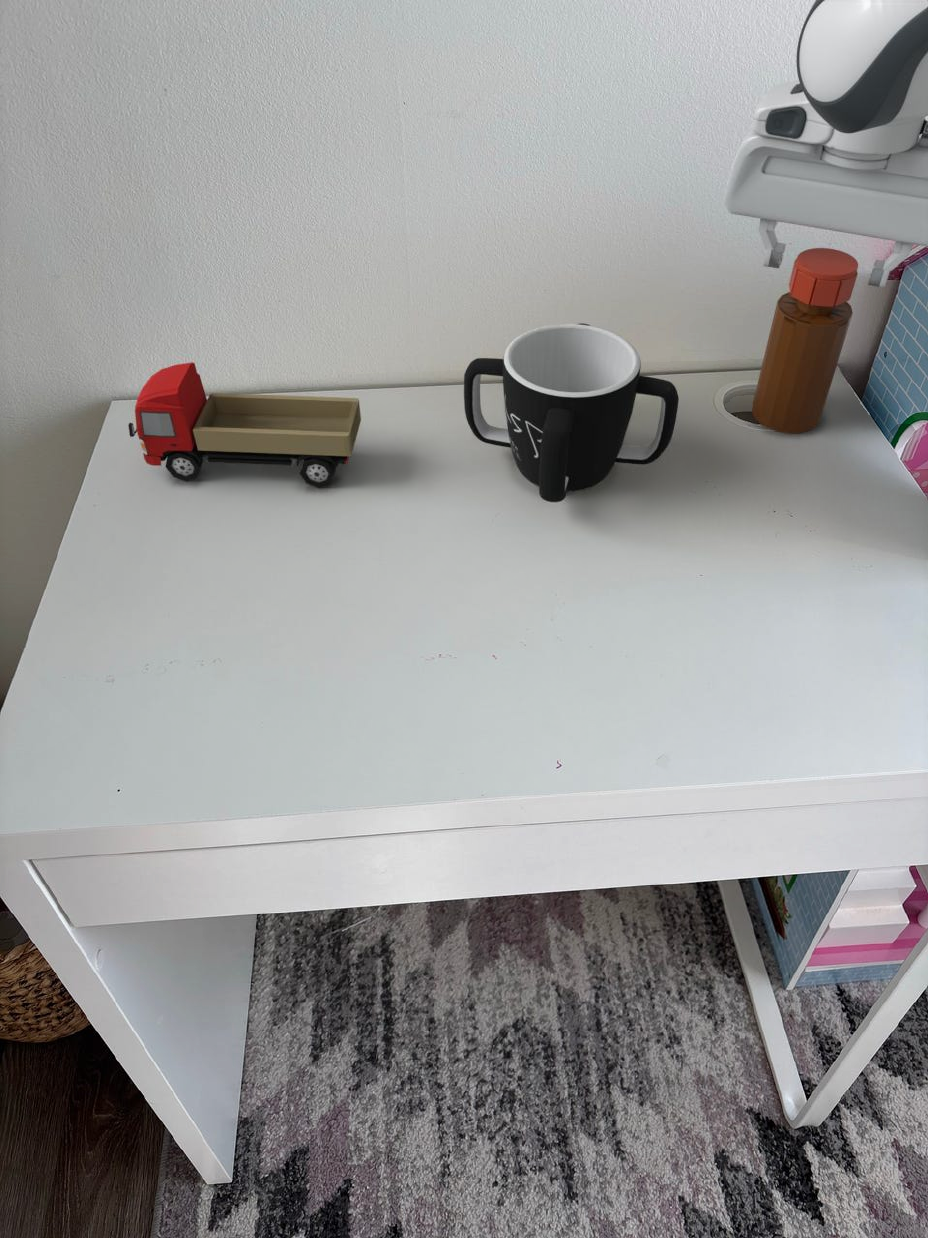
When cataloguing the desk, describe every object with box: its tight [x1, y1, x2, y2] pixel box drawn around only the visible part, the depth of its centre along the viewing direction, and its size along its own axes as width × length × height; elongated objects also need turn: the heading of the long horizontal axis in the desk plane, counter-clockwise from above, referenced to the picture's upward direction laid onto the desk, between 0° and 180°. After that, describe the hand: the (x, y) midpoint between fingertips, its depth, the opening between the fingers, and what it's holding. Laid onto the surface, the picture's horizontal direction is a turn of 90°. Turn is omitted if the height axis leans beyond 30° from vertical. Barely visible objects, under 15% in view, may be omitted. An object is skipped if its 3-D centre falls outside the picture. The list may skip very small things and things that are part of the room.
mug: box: [463, 322, 680, 503], centre depth 90 cm, size 16×16×12 cm
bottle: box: [751, 291, 854, 434], centre depth 94 cm, size 7×7×16 cm
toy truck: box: [128, 361, 362, 489], centre depth 91 cm, size 7×21×10 cm, turn 85°
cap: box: [788, 247, 859, 307], centre depth 89 cm, size 5×5×3 cm
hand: (823, 274), depth 88 cm, fingers open, 8 cm apart
